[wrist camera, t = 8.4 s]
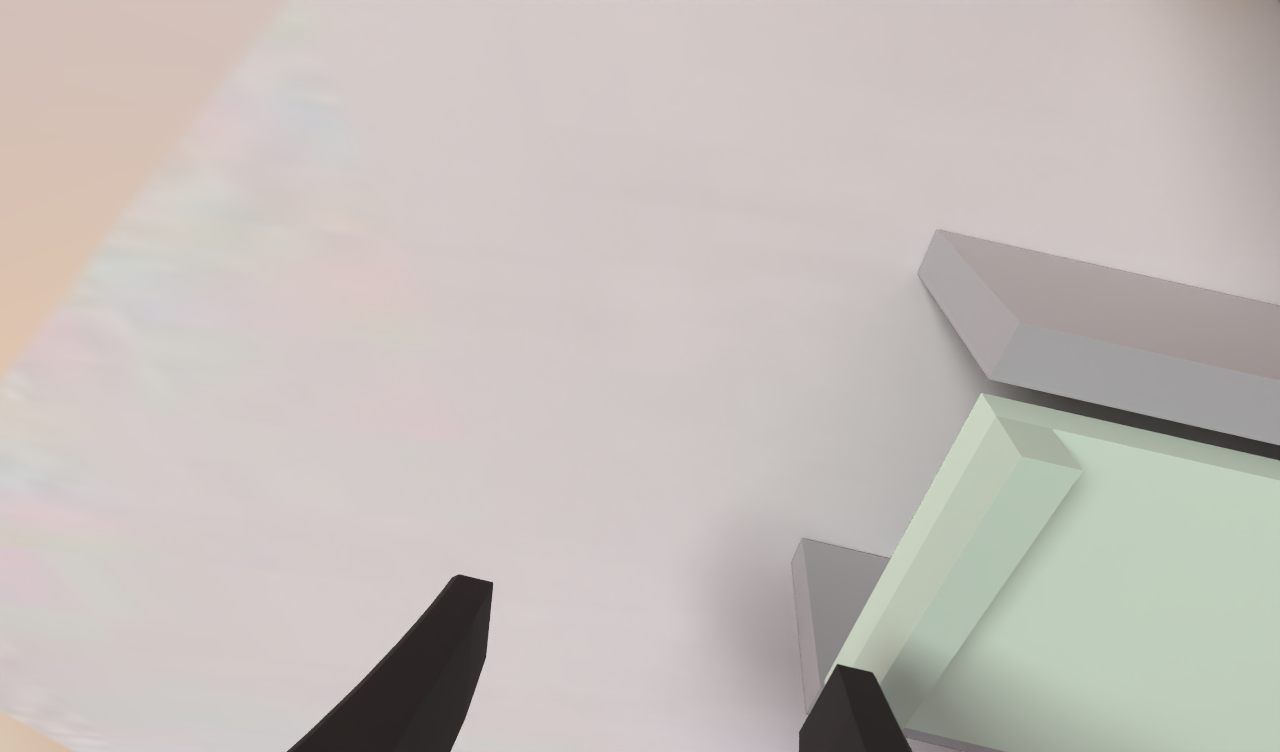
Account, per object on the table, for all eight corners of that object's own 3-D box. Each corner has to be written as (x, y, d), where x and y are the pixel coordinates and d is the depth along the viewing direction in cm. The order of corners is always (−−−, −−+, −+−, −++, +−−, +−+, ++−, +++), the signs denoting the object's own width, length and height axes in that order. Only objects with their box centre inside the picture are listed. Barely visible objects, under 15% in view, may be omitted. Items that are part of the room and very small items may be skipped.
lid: (1284, 789, 16) (1348, 880, 15) (824, 680, 17) (834, 757, 15) (1621, 538, 12) (1771, 628, 10) (981, 392, 12) (1021, 456, 10)
